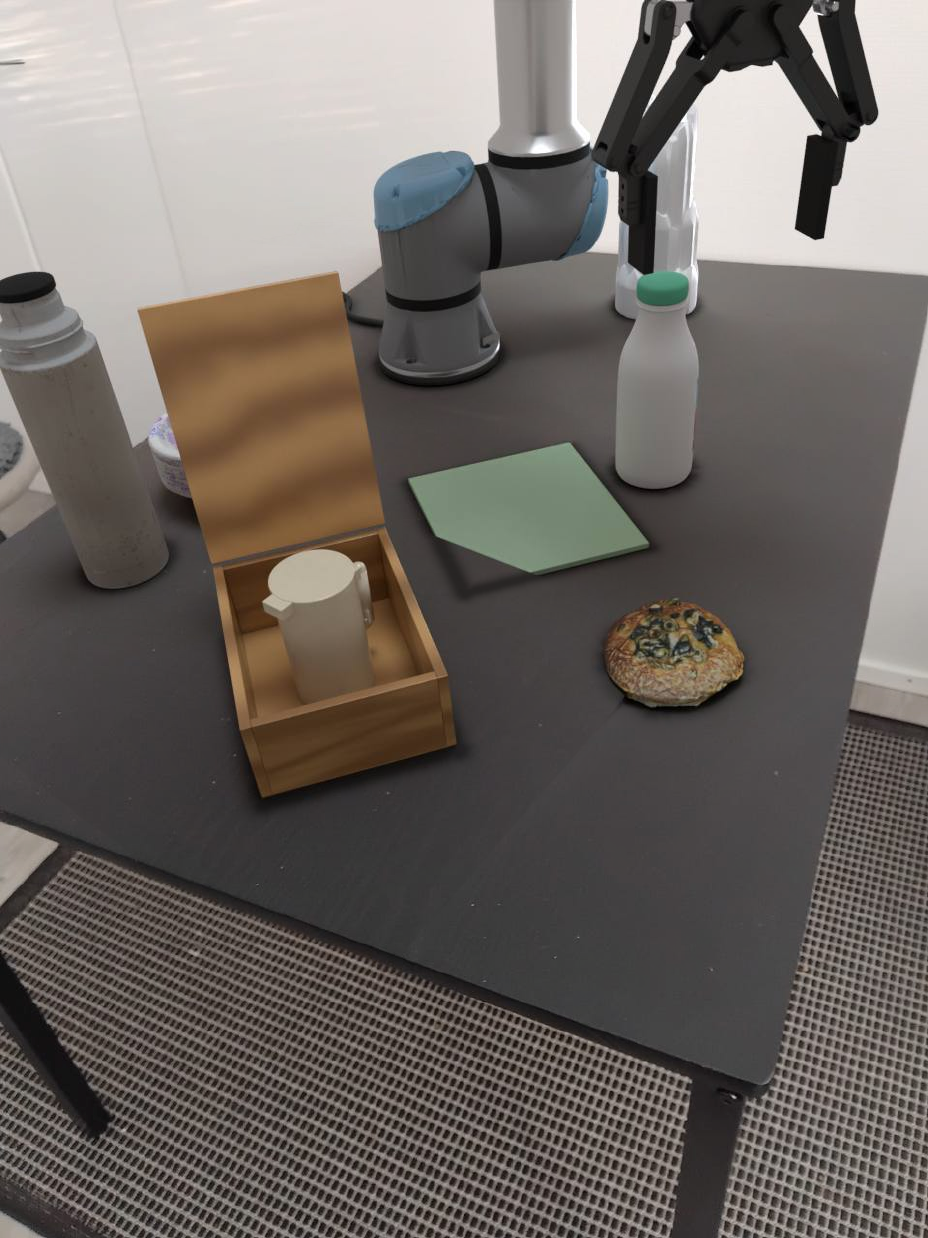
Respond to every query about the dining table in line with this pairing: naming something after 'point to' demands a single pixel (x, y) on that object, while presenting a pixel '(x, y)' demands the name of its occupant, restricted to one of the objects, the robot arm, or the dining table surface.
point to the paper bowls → (168, 457)
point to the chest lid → (266, 413)
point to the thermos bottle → (78, 433)
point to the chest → (345, 725)
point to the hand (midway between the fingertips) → (726, 251)
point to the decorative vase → (667, 219)
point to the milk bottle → (657, 387)
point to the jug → (323, 622)
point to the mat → (528, 510)
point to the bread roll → (671, 654)
